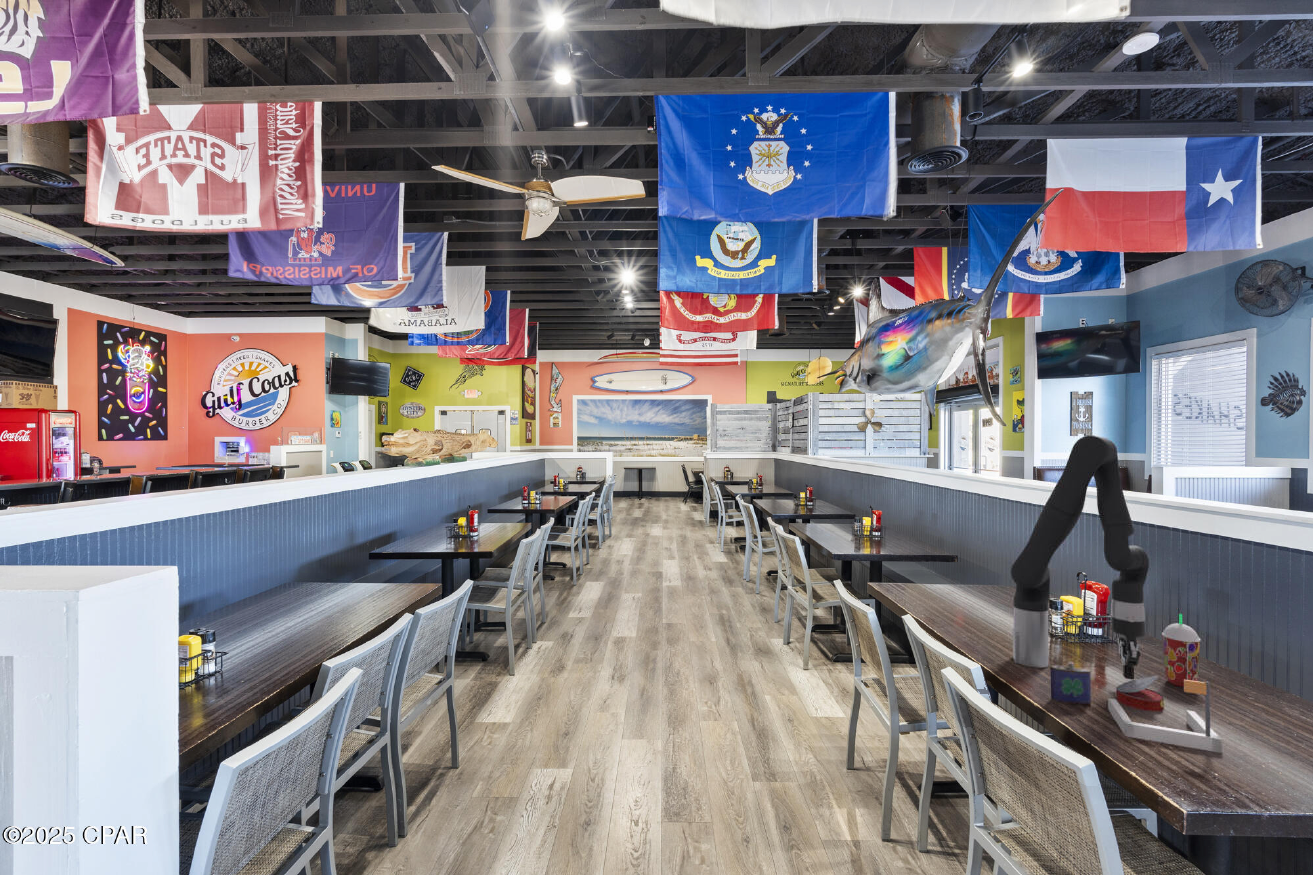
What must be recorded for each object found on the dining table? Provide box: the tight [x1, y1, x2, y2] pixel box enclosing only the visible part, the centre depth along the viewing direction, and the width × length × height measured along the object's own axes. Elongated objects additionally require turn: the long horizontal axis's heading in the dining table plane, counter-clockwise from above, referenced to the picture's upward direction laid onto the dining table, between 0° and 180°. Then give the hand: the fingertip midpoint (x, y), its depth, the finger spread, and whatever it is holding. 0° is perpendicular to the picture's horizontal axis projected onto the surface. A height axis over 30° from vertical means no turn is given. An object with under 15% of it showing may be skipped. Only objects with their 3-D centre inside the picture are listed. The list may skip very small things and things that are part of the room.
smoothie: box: [1161, 613, 1201, 688], centre depth 170 cm, size 8×8×20 cm
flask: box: [1049, 661, 1092, 706], centre depth 156 cm, size 9×3×11 cm, turn 74°
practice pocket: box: [1107, 680, 1223, 754], centre depth 141 cm, size 17×16×15 cm
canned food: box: [1115, 675, 1165, 712], centre depth 156 cm, size 11×10×10 cm
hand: (1128, 678), depth 166 cm, fingers closed
